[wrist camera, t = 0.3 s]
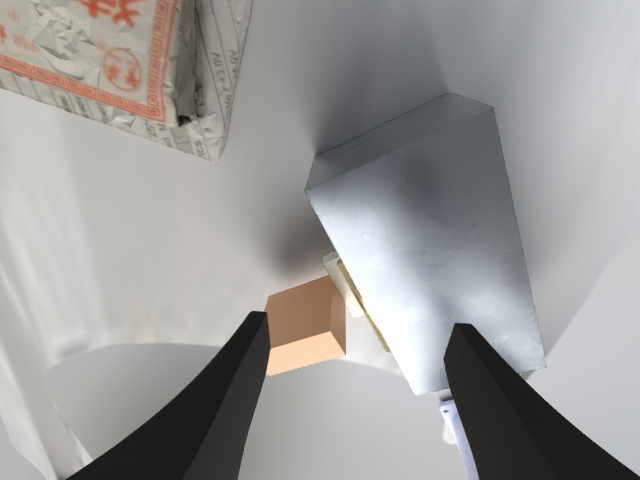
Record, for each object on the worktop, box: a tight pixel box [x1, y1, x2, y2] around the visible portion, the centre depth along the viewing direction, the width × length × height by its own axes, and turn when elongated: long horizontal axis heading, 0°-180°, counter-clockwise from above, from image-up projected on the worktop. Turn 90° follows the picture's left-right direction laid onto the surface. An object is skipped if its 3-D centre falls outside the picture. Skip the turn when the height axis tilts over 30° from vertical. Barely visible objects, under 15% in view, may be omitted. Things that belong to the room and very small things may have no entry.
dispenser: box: [304, 92, 547, 395], centre depth 18 cm, size 16×8×6 cm, turn 26°
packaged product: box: [0, 0, 252, 163], centre depth 14 cm, size 18×5×10 cm
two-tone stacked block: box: [264, 251, 365, 376], centre depth 18 cm, size 5×13×5 cm, turn 116°
